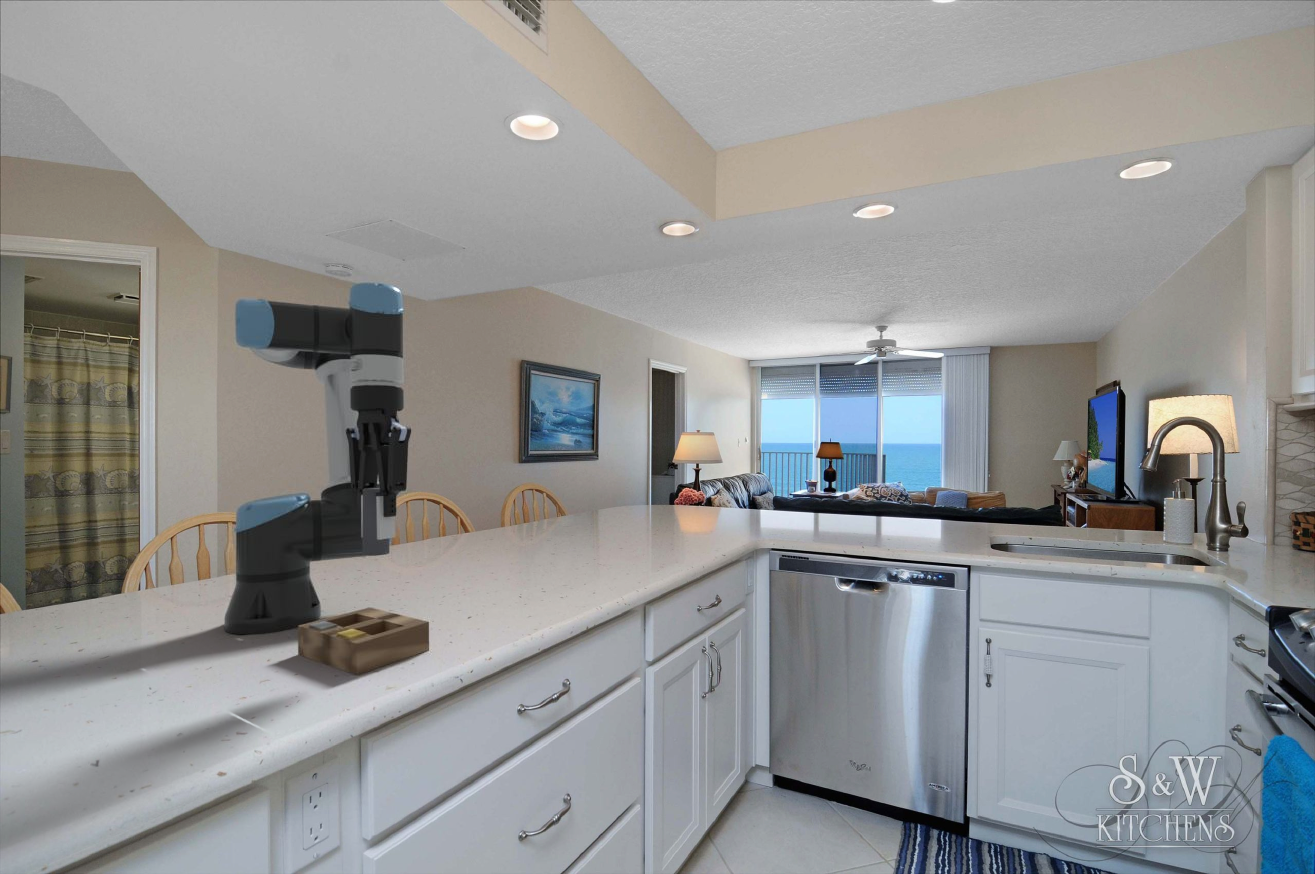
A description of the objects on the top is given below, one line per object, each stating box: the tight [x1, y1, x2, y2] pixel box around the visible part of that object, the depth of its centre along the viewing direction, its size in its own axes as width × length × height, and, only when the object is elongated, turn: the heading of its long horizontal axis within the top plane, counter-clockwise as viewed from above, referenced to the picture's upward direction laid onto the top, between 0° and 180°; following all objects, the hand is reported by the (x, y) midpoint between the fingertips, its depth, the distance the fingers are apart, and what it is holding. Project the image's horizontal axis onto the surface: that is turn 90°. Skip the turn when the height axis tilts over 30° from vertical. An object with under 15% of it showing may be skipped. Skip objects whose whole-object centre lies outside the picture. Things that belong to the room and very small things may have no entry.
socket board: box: [297, 607, 430, 676], centre depth 97 cm, size 16×12×5 cm
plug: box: [362, 488, 390, 557], centre depth 94 cm, size 4×4×10 cm
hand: (378, 536), depth 95 cm, fingers closed on plug, 3 cm apart
